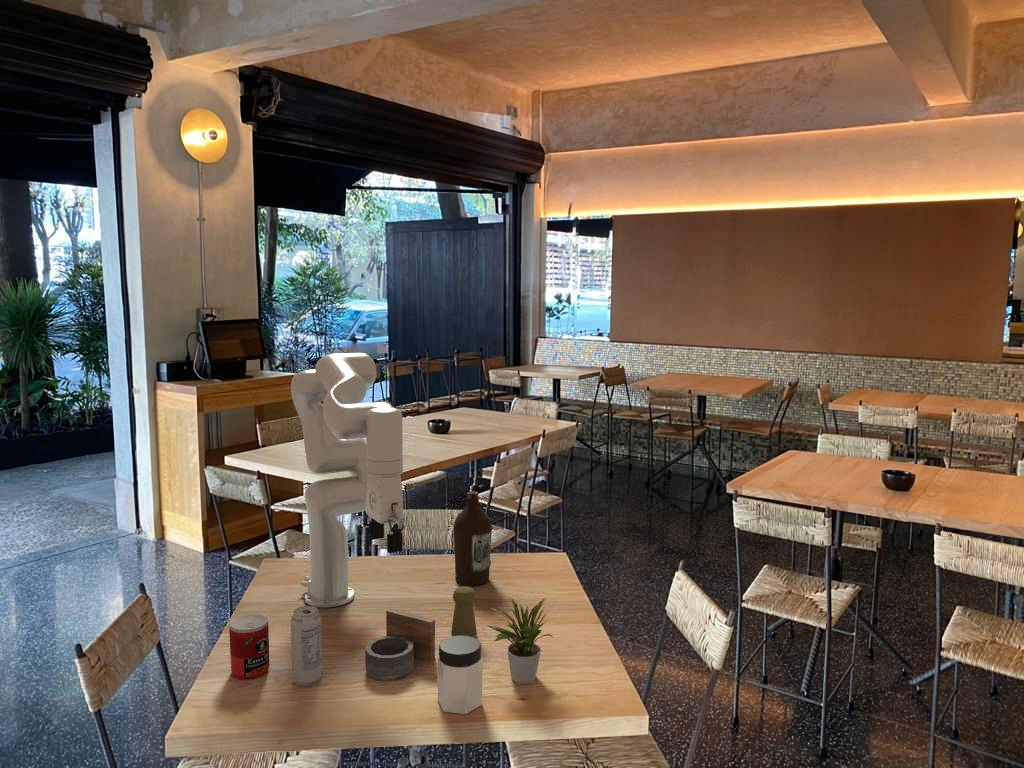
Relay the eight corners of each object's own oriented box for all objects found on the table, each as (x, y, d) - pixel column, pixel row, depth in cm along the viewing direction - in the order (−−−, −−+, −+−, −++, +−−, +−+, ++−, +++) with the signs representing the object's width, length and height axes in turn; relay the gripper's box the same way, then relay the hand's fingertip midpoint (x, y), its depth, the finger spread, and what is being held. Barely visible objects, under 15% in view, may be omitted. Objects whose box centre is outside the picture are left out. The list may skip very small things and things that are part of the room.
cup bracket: (398, 686, 152) (398, 644, 151) (352, 672, 157) (351, 631, 156) (434, 658, 163) (434, 619, 162) (390, 646, 169) (390, 608, 168)
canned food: (248, 684, 152) (246, 633, 151) (222, 673, 156) (220, 623, 155) (277, 668, 158) (276, 619, 157) (252, 658, 163) (251, 610, 161)
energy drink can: (312, 669, 158) (311, 602, 156) (327, 680, 154) (326, 611, 152) (286, 679, 154) (284, 610, 152) (301, 691, 150) (299, 619, 148)
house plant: (513, 651, 167) (514, 581, 165) (568, 668, 160) (570, 595, 158) (478, 679, 155) (478, 604, 153) (536, 698, 148) (537, 620, 146)
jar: (460, 686, 152) (460, 630, 151) (490, 700, 147) (491, 642, 145) (428, 704, 145) (428, 646, 144) (458, 720, 140) (458, 659, 139)
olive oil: (445, 579, 208) (445, 492, 205) (474, 570, 216) (474, 485, 213) (470, 590, 201) (471, 500, 198) (499, 580, 208) (500, 493, 205)
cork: (473, 640, 172) (473, 594, 171) (447, 637, 174) (447, 592, 172) (479, 628, 178) (479, 584, 177) (455, 626, 179) (455, 582, 178)
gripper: (353, 460, 162) (354, 536, 164) (384, 477, 148) (385, 560, 150) (385, 456, 166) (386, 531, 168) (418, 472, 152) (419, 554, 154)
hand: (385, 545), depth 159 cm, fingers open, 9 cm apart
